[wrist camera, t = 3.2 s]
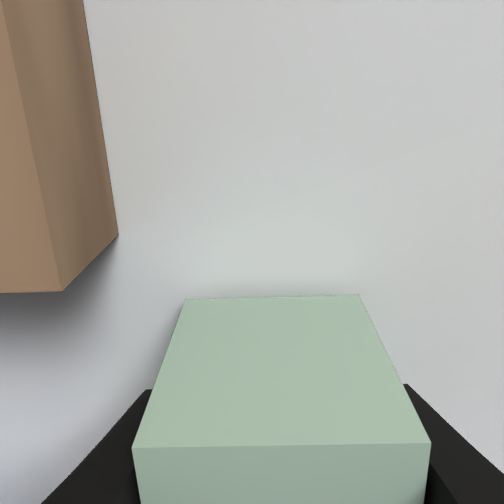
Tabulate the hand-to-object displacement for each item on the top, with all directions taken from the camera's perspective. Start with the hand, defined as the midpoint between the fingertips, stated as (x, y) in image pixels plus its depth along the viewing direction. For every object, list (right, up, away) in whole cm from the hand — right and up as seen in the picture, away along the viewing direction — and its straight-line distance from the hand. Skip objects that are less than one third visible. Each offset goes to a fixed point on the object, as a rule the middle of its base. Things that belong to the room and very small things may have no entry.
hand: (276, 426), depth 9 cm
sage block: (0, +1, +2) cm, 2 cm away
